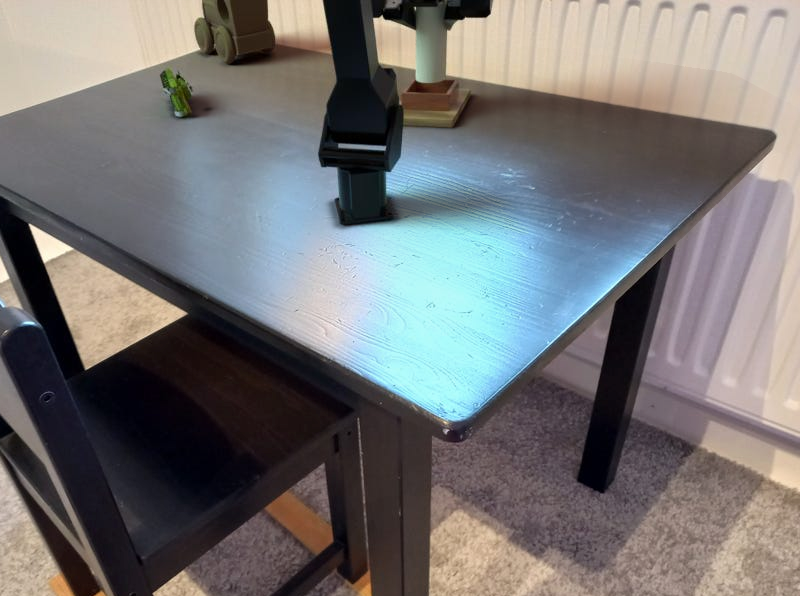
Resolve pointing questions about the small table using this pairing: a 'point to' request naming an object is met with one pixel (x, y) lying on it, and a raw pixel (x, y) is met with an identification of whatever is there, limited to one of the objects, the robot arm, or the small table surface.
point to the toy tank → (177, 92)
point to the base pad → (433, 103)
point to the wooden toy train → (234, 28)
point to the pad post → (431, 44)
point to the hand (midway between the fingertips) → (433, 27)
